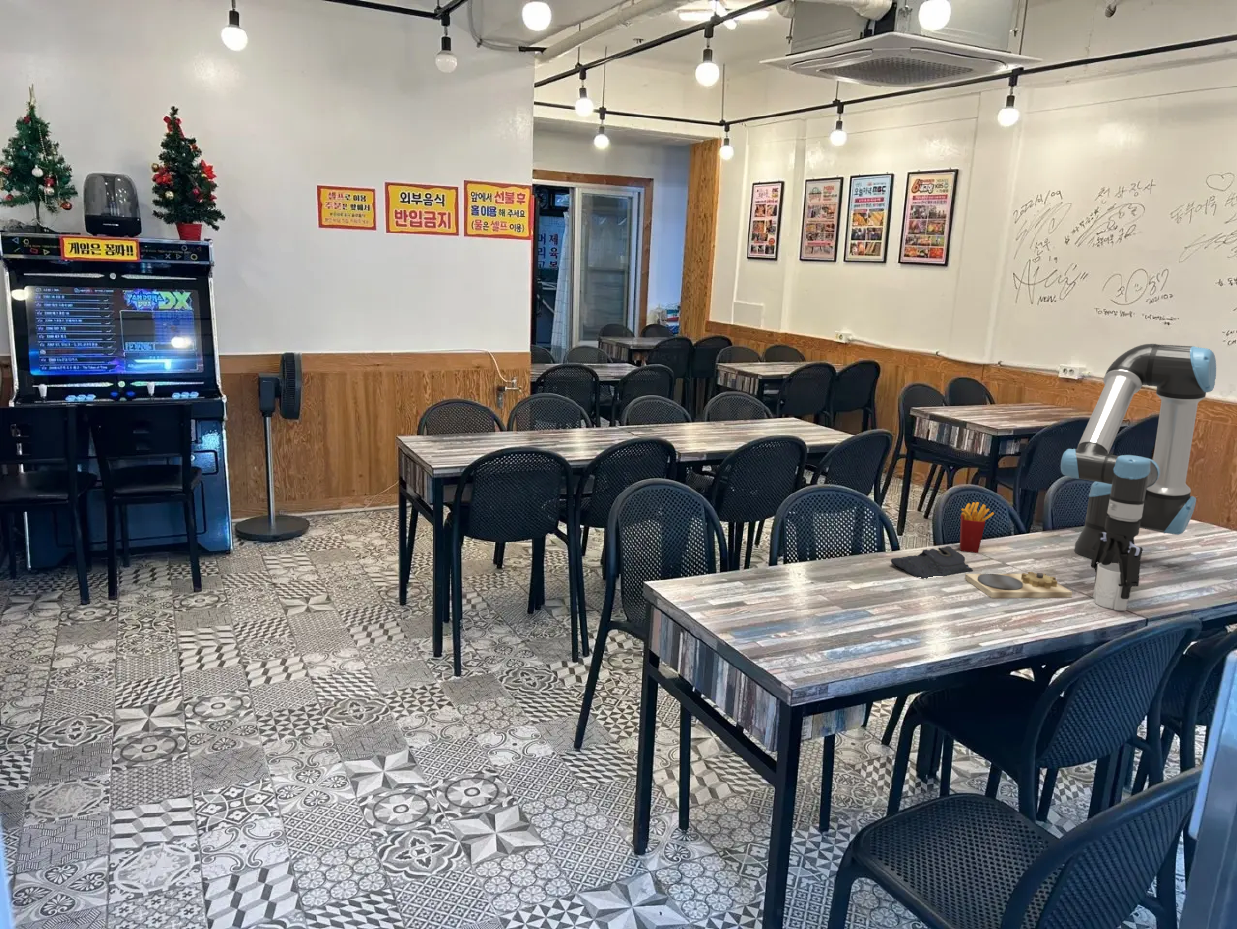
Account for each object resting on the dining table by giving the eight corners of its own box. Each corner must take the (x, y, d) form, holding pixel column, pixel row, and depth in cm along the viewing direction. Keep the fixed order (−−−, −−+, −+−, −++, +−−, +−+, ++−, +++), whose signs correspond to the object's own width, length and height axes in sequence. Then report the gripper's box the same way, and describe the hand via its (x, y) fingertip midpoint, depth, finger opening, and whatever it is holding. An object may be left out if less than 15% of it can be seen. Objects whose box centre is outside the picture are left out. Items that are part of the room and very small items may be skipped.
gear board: (1040, 578, 240) (1042, 565, 239) (1071, 597, 227) (1073, 582, 226) (964, 579, 238) (966, 565, 237) (991, 597, 224) (993, 583, 223)
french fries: (957, 551, 262) (963, 503, 259) (955, 543, 270) (961, 497, 267) (989, 555, 260) (995, 506, 256) (986, 547, 267) (992, 500, 264)
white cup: (1118, 600, 226) (1124, 563, 224) (1132, 611, 218) (1139, 573, 216) (1086, 598, 227) (1092, 561, 225) (1099, 609, 219) (1105, 571, 217)
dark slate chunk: (881, 564, 249) (882, 549, 248) (936, 556, 259) (938, 540, 258) (922, 582, 235) (924, 565, 234) (978, 572, 245) (980, 556, 244)
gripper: (1083, 506, 227) (1070, 589, 232) (1138, 529, 207) (1122, 619, 212) (1110, 506, 228) (1096, 589, 233) (1167, 529, 208) (1150, 619, 213)
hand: (1109, 603), depth 222 cm, fingers closed on white cup, 8 cm apart
